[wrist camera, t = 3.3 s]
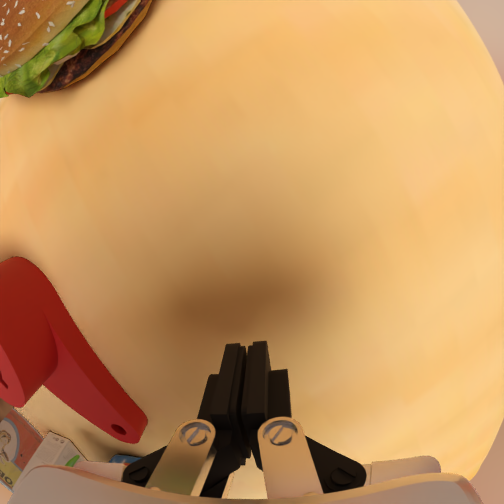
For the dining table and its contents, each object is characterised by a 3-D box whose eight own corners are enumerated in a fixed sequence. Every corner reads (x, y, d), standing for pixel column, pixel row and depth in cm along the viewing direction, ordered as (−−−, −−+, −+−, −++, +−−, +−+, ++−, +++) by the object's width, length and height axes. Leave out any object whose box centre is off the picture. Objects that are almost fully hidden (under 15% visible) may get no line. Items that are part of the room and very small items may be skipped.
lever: (-7, 297, 16) (-52, 325, 10) (18, 231, 14) (-48, 255, 8) (119, 435, 20) (95, 484, 13) (177, 410, 18) (153, 479, 11)
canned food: (47, 436, 22) (12, 490, 11) (52, 458, 25) (25, 503, 14) (-7, 387, 21) (-47, 430, 10) (4, 419, 24) (-27, 457, 13)
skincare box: (48, 429, 22) (9, 488, 10) (70, 438, 21) (31, 504, 10) (70, 456, 23) (39, 511, 12) (92, 464, 23) (62, 525, 11)
